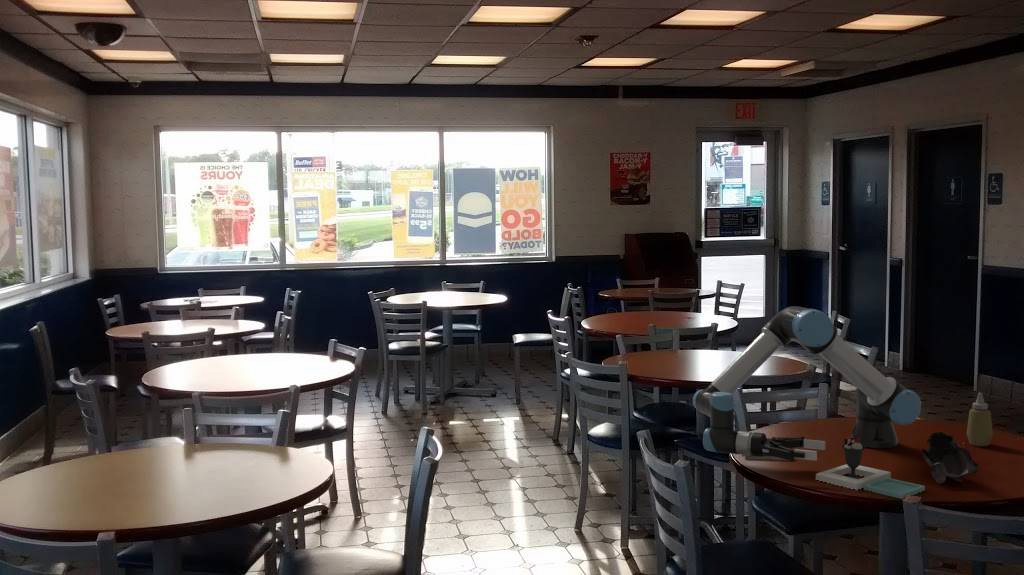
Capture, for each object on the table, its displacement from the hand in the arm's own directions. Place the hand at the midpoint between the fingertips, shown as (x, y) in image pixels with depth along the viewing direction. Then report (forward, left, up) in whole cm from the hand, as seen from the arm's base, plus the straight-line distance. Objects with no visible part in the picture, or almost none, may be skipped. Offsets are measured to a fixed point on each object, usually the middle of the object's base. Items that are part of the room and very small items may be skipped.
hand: (821, 450), depth 291 cm
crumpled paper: (-25, +26, -8) cm, 37 cm away
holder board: (-4, +9, -8) cm, 12 cm away
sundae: (-4, +9, -8) cm, 12 cm away
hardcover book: (-12, -30, -9) cm, 33 cm away
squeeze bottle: (-72, +14, -8) cm, 74 cm away
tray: (-3, +23, -8) cm, 24 cm away
